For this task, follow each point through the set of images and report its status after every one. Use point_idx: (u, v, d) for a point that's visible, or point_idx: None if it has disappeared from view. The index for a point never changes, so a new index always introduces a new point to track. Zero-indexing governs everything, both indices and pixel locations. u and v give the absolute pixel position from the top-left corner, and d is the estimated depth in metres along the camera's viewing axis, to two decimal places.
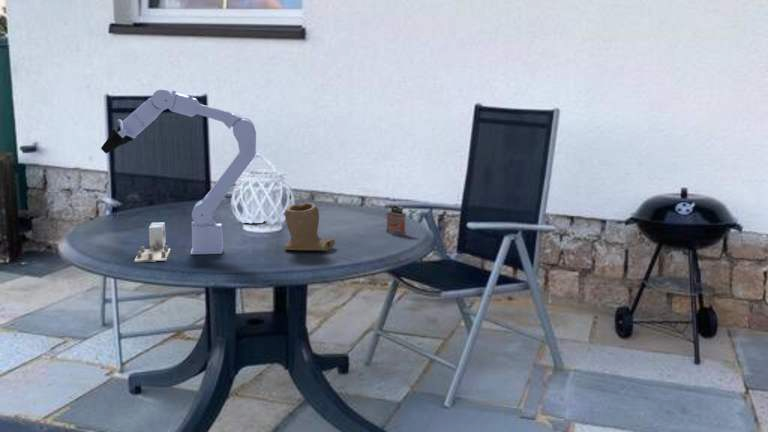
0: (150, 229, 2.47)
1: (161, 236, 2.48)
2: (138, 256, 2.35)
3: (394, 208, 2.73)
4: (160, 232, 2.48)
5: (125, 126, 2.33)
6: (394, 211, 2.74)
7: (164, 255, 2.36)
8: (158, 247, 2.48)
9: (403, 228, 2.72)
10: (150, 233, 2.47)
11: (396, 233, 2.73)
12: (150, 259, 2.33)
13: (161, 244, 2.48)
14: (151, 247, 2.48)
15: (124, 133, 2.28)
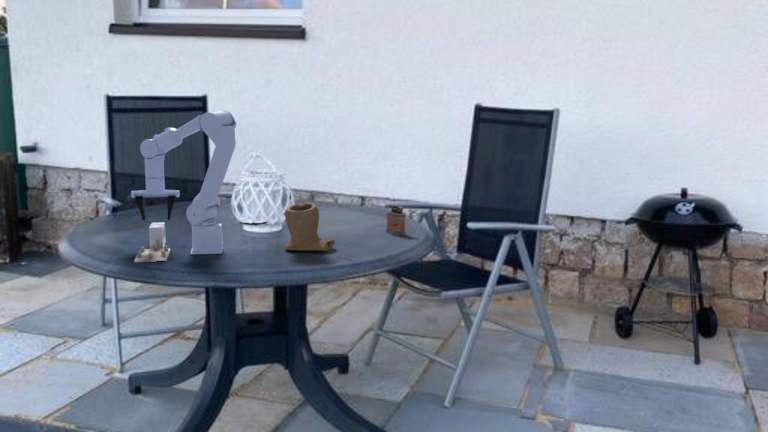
0: (150, 229, 2.47)
1: (161, 236, 2.48)
2: (138, 256, 2.35)
3: (394, 208, 2.73)
4: (160, 232, 2.48)
5: None
6: (394, 211, 2.74)
7: (164, 255, 2.36)
8: (158, 247, 2.48)
9: (403, 228, 2.72)
10: (150, 233, 2.47)
11: (396, 233, 2.73)
12: (150, 259, 2.33)
13: (161, 244, 2.48)
14: (151, 247, 2.48)
15: None
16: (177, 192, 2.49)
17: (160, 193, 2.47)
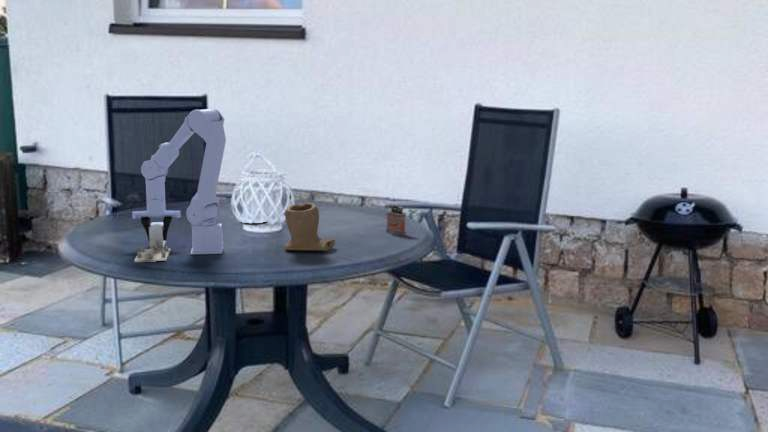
0: (150, 229, 2.47)
1: (161, 236, 2.48)
2: (138, 256, 2.35)
3: (394, 208, 2.73)
4: (160, 232, 2.48)
5: None
6: (394, 211, 2.74)
7: (164, 255, 2.36)
8: (158, 247, 2.48)
9: (403, 228, 2.72)
10: (150, 233, 2.47)
11: (396, 233, 2.73)
12: (150, 259, 2.33)
13: (161, 244, 2.48)
14: (151, 247, 2.48)
15: None
16: (178, 213, 2.50)
17: (161, 214, 2.48)
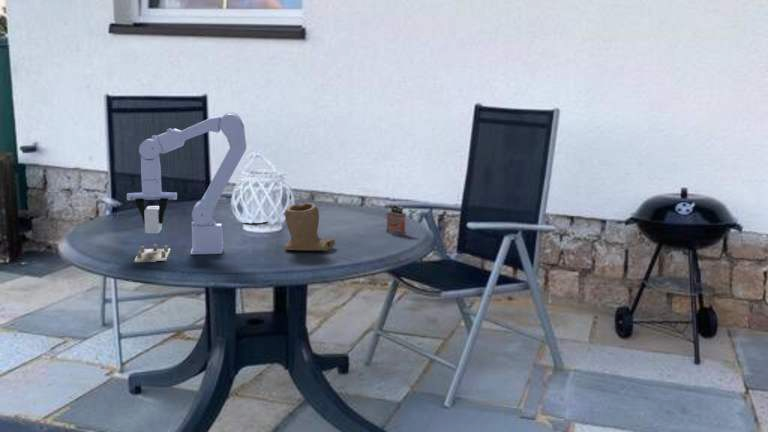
0: (145, 212, 2.37)
1: (157, 219, 2.38)
2: (138, 256, 2.35)
3: (394, 208, 2.73)
4: (156, 215, 2.38)
5: None
6: (394, 211, 2.74)
7: (164, 255, 2.36)
8: (153, 231, 2.39)
9: (403, 228, 2.72)
10: (145, 216, 2.38)
11: (396, 233, 2.73)
12: (150, 259, 2.33)
13: (157, 228, 2.39)
14: (146, 231, 2.38)
15: None
16: (174, 194, 2.40)
17: (156, 195, 2.38)
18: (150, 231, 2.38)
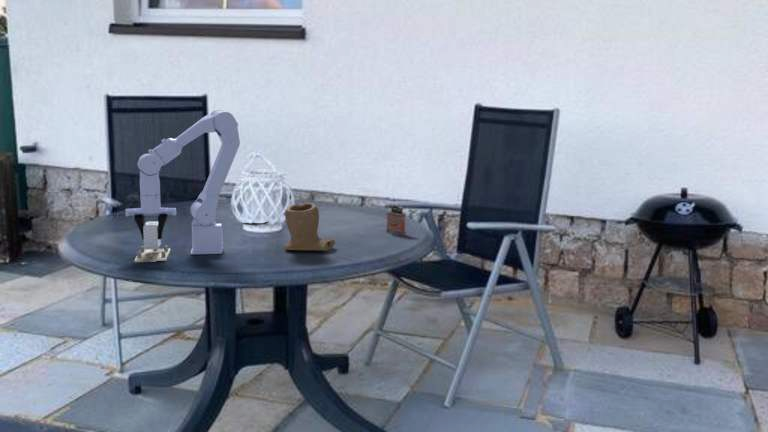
0: (144, 228, 2.34)
1: (156, 235, 2.35)
2: (138, 256, 2.35)
3: (394, 208, 2.73)
4: (155, 231, 2.35)
5: None
6: (394, 211, 2.74)
7: (164, 255, 2.36)
8: (152, 247, 2.36)
9: (403, 228, 2.72)
10: (144, 232, 2.34)
11: (396, 233, 2.73)
12: (150, 259, 2.33)
13: (156, 244, 2.36)
14: (145, 247, 2.35)
15: None
16: (174, 210, 2.37)
17: (156, 211, 2.35)
18: (149, 247, 2.35)
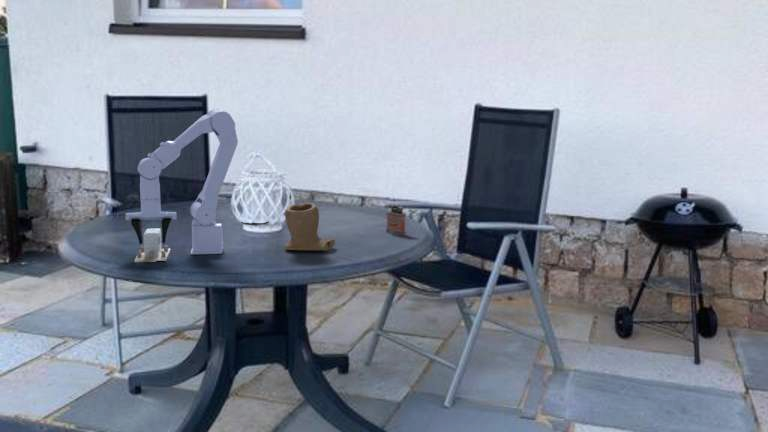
0: (145, 236, 2.35)
1: (156, 243, 2.36)
2: (138, 256, 2.35)
3: (394, 208, 2.73)
4: (155, 239, 2.35)
5: None
6: (394, 211, 2.74)
7: (164, 255, 2.36)
8: (153, 254, 2.36)
9: (403, 228, 2.72)
10: (145, 240, 2.35)
11: (396, 233, 2.73)
12: (150, 259, 2.33)
13: (156, 251, 2.36)
14: (146, 254, 2.36)
15: None
16: (174, 214, 2.37)
17: (156, 215, 2.35)
18: None
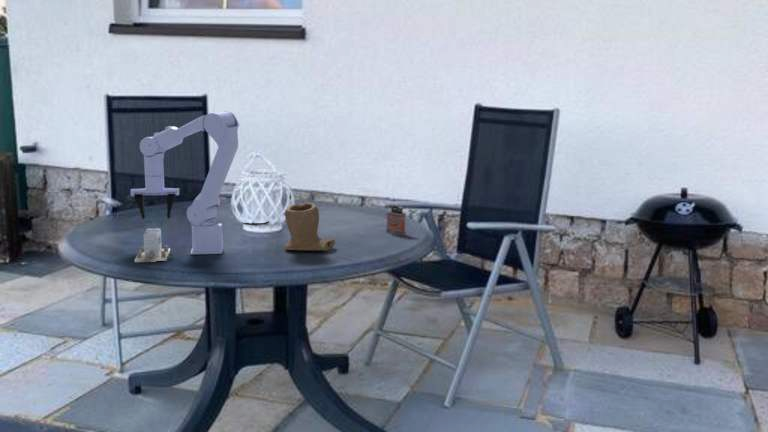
0: (145, 236, 2.35)
1: (156, 243, 2.36)
2: (138, 256, 2.35)
3: (394, 208, 2.73)
4: (155, 239, 2.35)
5: None
6: (394, 211, 2.74)
7: (164, 255, 2.36)
8: (153, 254, 2.36)
9: (403, 228, 2.72)
10: (145, 240, 2.35)
11: (396, 233, 2.73)
12: (150, 259, 2.33)
13: (156, 251, 2.36)
14: (146, 254, 2.36)
15: None
16: (177, 190, 2.48)
17: (160, 191, 2.45)
18: None
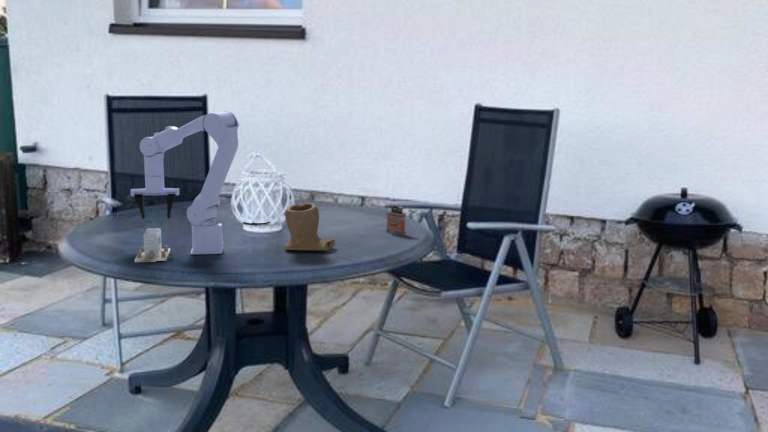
0: (145, 236, 2.35)
1: (156, 243, 2.36)
2: (138, 256, 2.35)
3: (394, 208, 2.73)
4: (155, 239, 2.35)
5: None
6: (394, 211, 2.74)
7: (164, 255, 2.36)
8: (153, 254, 2.36)
9: (403, 228, 2.72)
10: (145, 240, 2.35)
11: (396, 233, 2.73)
12: (150, 259, 2.33)
13: (156, 251, 2.36)
14: (146, 254, 2.36)
15: None
16: (177, 190, 2.48)
17: (160, 191, 2.45)
18: None
